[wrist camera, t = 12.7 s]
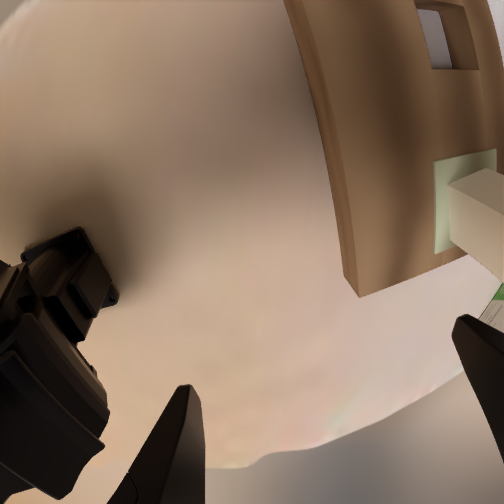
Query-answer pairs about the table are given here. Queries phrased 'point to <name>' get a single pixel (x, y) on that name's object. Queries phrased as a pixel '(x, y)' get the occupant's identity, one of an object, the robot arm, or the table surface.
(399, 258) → the board
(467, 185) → the plug
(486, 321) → the ink box
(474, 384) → the robot arm
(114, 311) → the table surface
